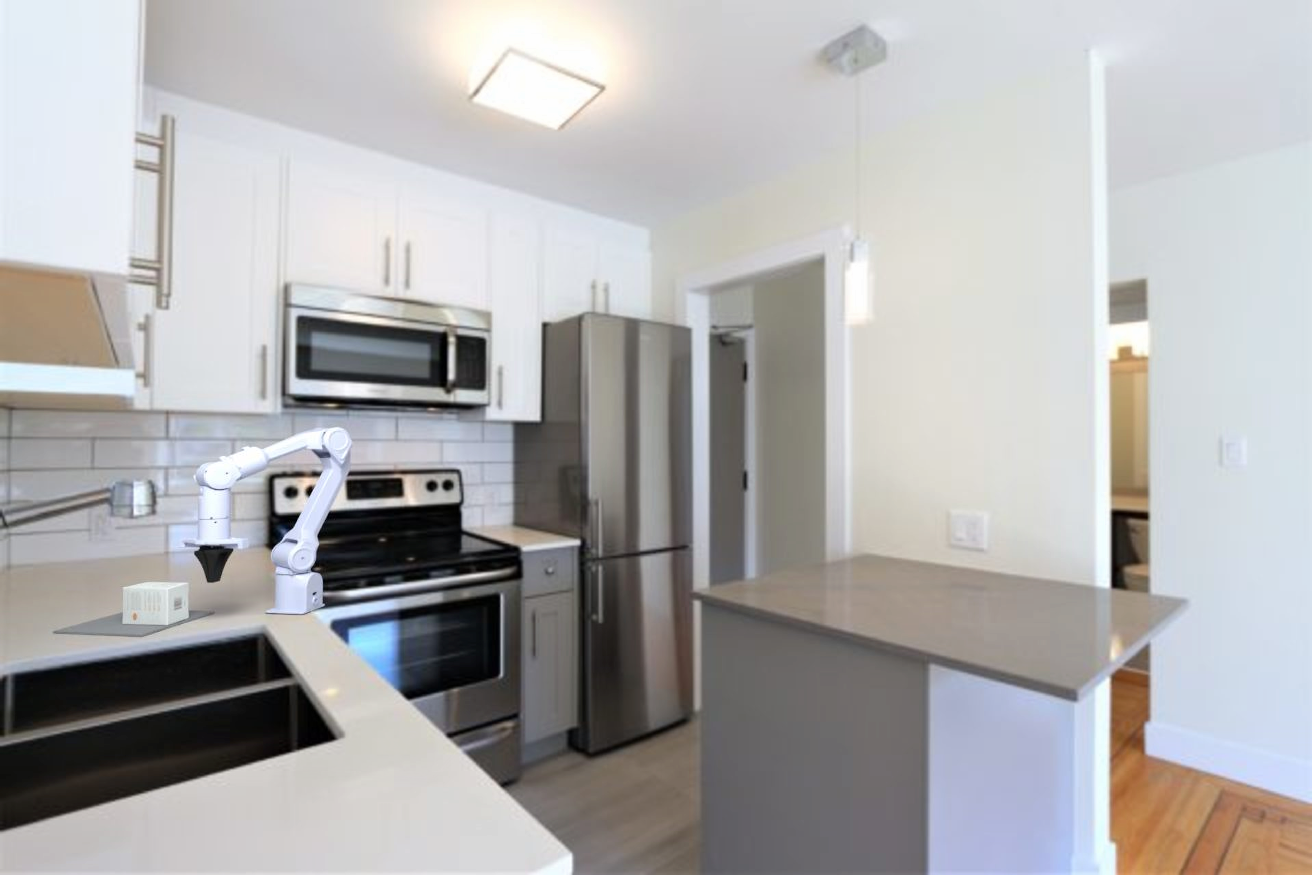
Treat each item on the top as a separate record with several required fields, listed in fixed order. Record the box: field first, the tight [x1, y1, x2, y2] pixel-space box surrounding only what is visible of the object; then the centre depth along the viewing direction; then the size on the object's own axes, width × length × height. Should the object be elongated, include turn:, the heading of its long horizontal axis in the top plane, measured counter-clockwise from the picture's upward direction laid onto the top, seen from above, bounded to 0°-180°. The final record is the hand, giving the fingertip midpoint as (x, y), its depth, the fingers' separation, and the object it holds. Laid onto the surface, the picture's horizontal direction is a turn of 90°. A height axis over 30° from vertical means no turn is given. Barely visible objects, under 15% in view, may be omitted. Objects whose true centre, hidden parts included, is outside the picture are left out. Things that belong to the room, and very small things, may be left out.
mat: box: [52, 609, 216, 638], centre depth 135 cm, size 20×18×1 cm
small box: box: [122, 581, 190, 626], centre depth 134 cm, size 8×6×10 cm
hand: (213, 581), depth 133 cm, fingers closed
